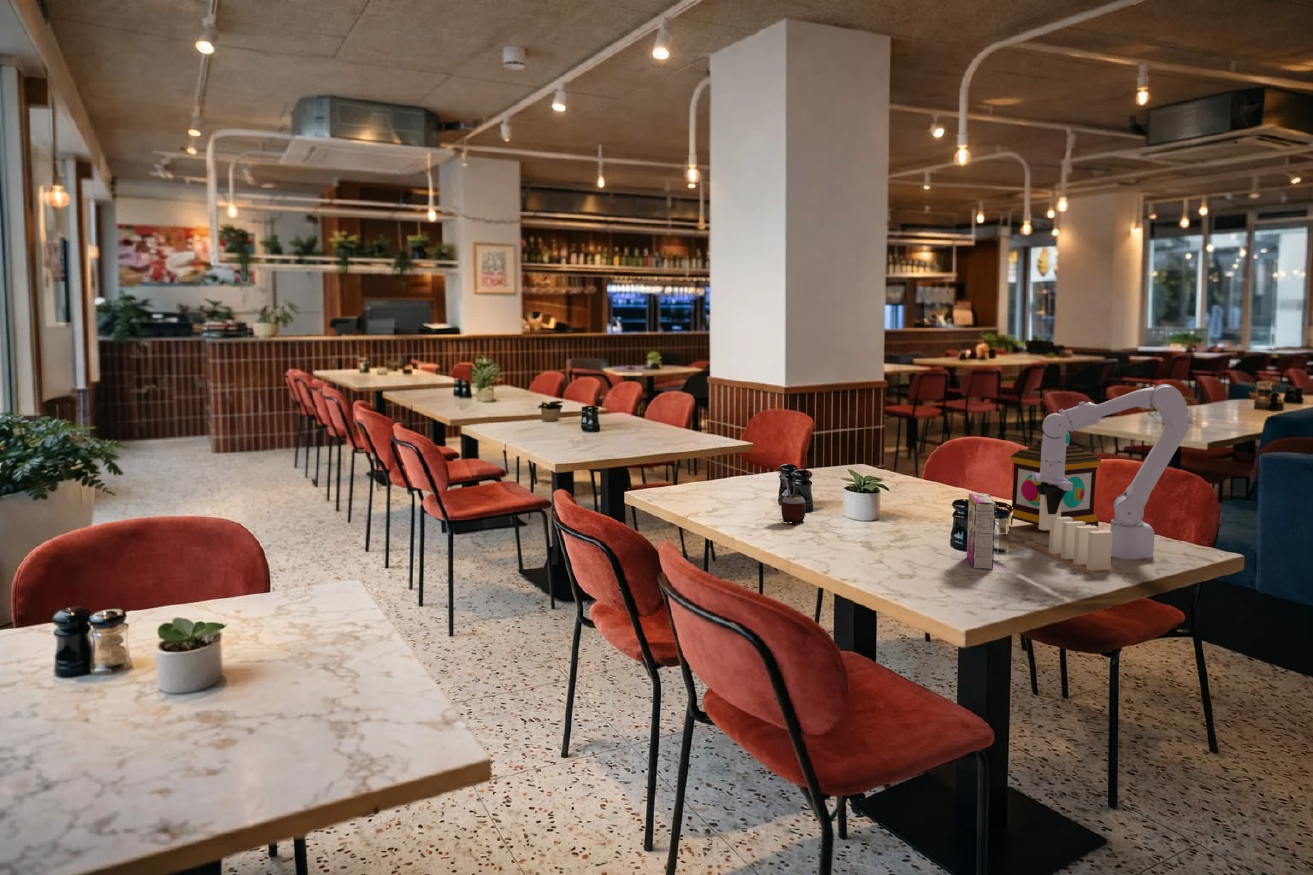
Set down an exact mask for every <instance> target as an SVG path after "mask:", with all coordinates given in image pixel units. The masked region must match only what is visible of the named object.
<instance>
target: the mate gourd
mask: <svg viewBox="0 0 1313 875" xmlns="http://www.w3.org/2000/svg"><path fill="white" fill-rule="evenodd" d="M777 473H778V474H779V475H781V477H782V478H783V480H784V481H783V482H785V485H786V486H785V487H786V489H787V494H788V495H784V497H783V498H782V499H781V505H780V508H781V518H782V520H783V521H782V522H792V523H793V525H796V526H797V524H796V523H804V524H805V521H804V520H805V517H806V509H807V504H806V500H805V498H804V497H803V496H801V495H799V494H791V491H790V486H789V484H788V479H787V478H786V476H785V475H784V474H783V473H782V472H781V471H779V470H778V471H777ZM793 525H792V526H793Z"/></svg>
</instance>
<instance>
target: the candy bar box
mask: <svg viewBox="0 0 1313 875" xmlns="http://www.w3.org/2000/svg"><path fill="white" fill-rule="evenodd" d="M996 505H997V504H996V502H995V501H994V500H993V498H992V497H991V496H990V494H989V493H975V492H974V493H973V492H972V493H968V506H967V507H968V508H967V509H968V511H967V514H968V515H967V540H966V542H967V543H966V558H967V560H968V561H969V563H970V565H971V568H972V569H975V570H994V557H995V535H996V534H995V530H996V529H995V528H996V527H995V526H996Z"/></svg>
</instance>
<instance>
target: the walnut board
mask: <svg viewBox="0 0 1313 875" xmlns="http://www.w3.org/2000/svg"><path fill="white" fill-rule="evenodd" d="M1025 547H1027V548H1030V549H1031V550H1034V551H1037V552H1039V553H1041V554H1043V555H1045V556H1048V557H1050V558H1053V559H1055V560H1057V561H1059V562H1061V563H1064V564H1066V565H1067V566H1070V567H1073V568H1075V569H1077V570H1078V571H1081V572H1084V573H1086V574H1088V575H1092V574H1095V575H1096V574H1111V573H1112V574H1113V573H1124V571H1123V570H1121V569H1118V568H1116V567H1114V566H1111V565H1110V570H1092V571H1090V570H1088V569H1086V566H1087V564H1083V565H1077V564H1074V563H1073V559H1063V558H1061V554H1051V553H1049V543H1048V544H1030V545H1029V544H1028V545H1027V544H1026V545H1025Z"/></svg>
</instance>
